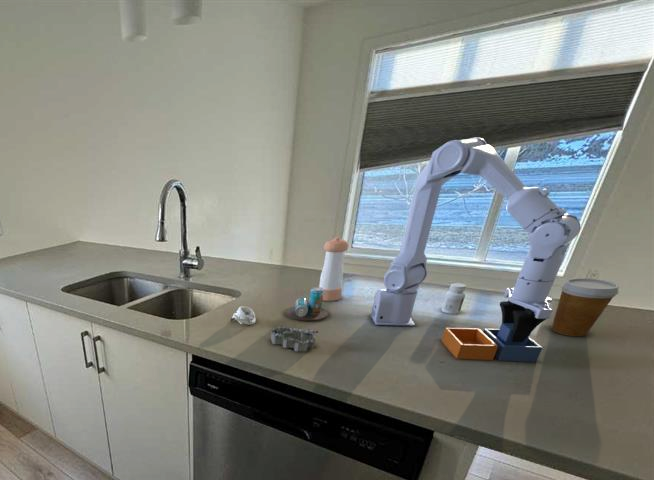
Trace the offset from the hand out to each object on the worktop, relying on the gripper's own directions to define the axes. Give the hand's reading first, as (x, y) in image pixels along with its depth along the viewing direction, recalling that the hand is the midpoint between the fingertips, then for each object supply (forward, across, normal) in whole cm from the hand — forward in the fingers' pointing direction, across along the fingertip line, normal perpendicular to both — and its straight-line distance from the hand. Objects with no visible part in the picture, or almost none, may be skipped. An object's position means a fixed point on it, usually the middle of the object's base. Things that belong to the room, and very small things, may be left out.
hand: (512, 337), depth 92 cm
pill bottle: (+4, +26, +3) cm, 26 cm away
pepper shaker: (+4, +38, +34) cm, 51 cm away
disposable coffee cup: (+4, +13, -18) cm, 23 cm away
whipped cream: (+4, +15, +60) cm, 62 cm away
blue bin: (+4, 0, 0) cm, 4 cm away
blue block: (+1, 0, 0) cm, 1 cm away
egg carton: (+4, 0, +47) cm, 47 cm away
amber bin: (+4, 0, +8) cm, 9 cm away
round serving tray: (+4, +22, +42) cm, 48 cm away
